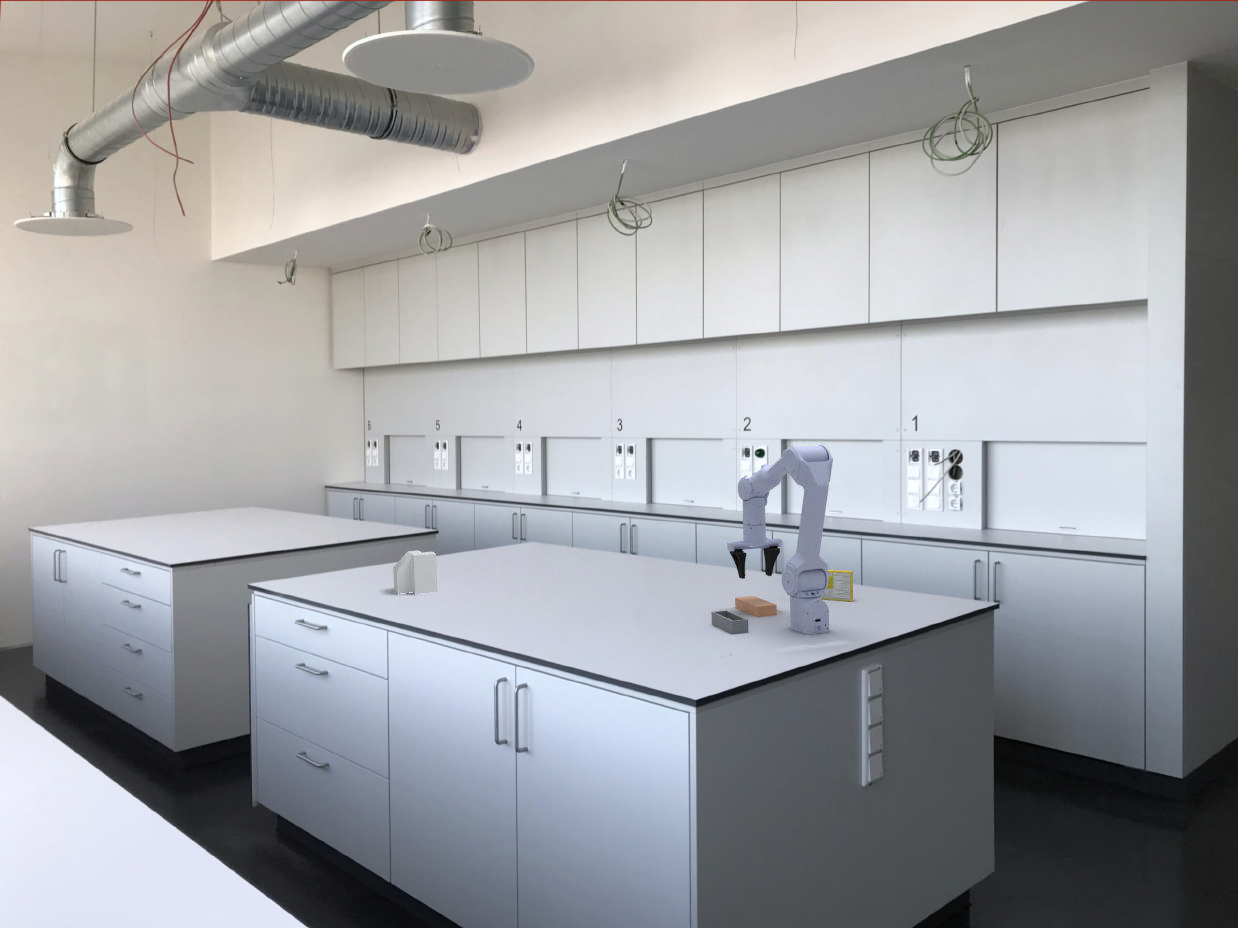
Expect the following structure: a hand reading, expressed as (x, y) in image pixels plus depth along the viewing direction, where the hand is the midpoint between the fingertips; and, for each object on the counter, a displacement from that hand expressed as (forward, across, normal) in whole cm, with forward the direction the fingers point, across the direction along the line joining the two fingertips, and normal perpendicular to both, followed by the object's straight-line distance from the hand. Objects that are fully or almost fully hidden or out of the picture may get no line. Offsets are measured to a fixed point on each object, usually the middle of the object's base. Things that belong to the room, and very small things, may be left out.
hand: (755, 576), depth 245 cm
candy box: (+10, -26, -10) cm, 30 cm away
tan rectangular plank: (+10, 0, 0) cm, 10 cm away
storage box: (+10, +14, +14) cm, 22 cm away
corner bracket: (+10, +77, -75) cm, 108 cm away
